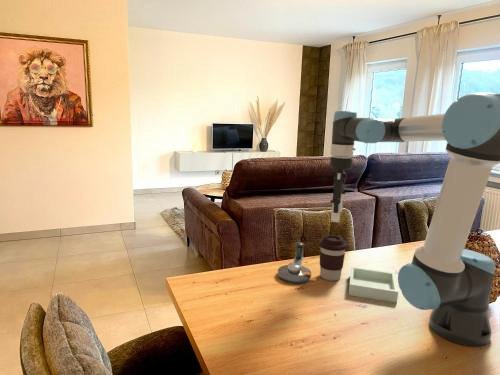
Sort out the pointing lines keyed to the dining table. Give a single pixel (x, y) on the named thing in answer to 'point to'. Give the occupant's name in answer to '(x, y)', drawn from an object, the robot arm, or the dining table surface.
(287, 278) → the grey round base
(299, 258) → the crank
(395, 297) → the tray
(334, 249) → the coffee cup
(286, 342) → the dining table surface
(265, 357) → the dining table surface
